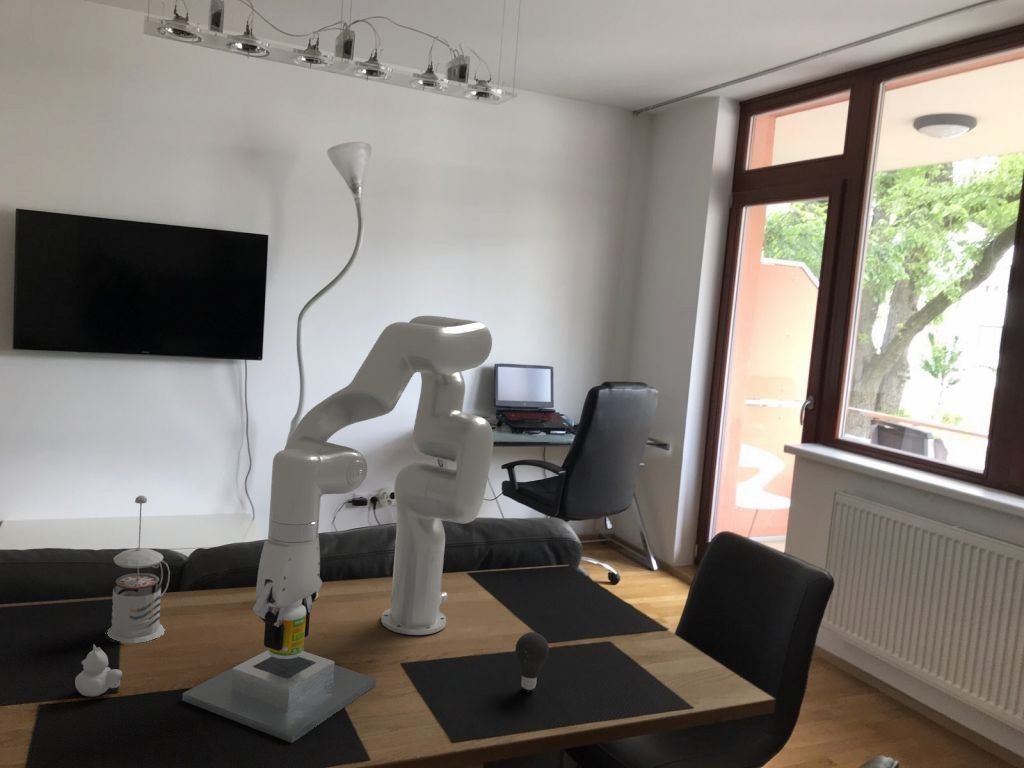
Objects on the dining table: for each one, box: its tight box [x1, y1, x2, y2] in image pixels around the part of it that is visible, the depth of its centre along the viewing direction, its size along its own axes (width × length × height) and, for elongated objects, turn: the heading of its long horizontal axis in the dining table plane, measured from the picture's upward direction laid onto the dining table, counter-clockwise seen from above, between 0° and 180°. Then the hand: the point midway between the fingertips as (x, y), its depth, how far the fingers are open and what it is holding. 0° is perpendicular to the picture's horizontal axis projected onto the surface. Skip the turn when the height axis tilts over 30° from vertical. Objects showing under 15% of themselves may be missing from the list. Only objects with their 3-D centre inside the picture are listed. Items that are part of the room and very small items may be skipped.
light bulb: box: [515, 631, 550, 691], centre depth 142 cm, size 6×6×10 cm
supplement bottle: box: [267, 599, 306, 659], centre depth 133 cm, size 5×5×10 cm
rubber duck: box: [74, 644, 123, 697], centre depth 128 cm, size 5×7×8 cm
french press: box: [106, 495, 171, 643], centre depth 150 cm, size 10×12×25 cm
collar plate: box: [182, 649, 377, 744], centre depth 134 cm, size 21×21×5 cm
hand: (286, 640), depth 133 cm, fingers closed on supplement bottle, 5 cm apart
